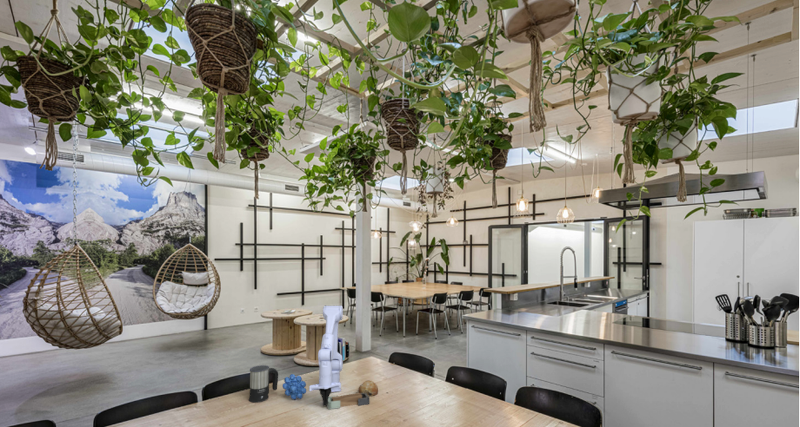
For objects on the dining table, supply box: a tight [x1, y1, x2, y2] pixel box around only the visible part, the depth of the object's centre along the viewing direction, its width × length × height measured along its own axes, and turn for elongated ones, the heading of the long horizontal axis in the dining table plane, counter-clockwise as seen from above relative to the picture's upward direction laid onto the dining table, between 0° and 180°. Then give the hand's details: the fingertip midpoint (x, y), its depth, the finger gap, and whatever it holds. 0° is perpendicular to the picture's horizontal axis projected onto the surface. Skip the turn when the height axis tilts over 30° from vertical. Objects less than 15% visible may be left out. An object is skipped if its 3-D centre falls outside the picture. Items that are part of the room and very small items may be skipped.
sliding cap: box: [326, 395, 341, 410], centre depth 175 cm, size 7×5×3 cm
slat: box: [331, 392, 362, 408], centre depth 177 cm, size 4×14×4 cm, turn 114°
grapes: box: [282, 373, 307, 400], centre depth 182 cm, size 12×7×12 cm, turn 95°
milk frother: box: [248, 364, 279, 403], centre depth 187 cm, size 14×16×15 cm
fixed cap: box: [357, 393, 370, 407], centre depth 179 cm, size 7×5×3 cm
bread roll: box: [357, 380, 379, 398], centre depth 191 cm, size 10×10×8 cm
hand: (324, 405), depth 174 cm, fingers closed
